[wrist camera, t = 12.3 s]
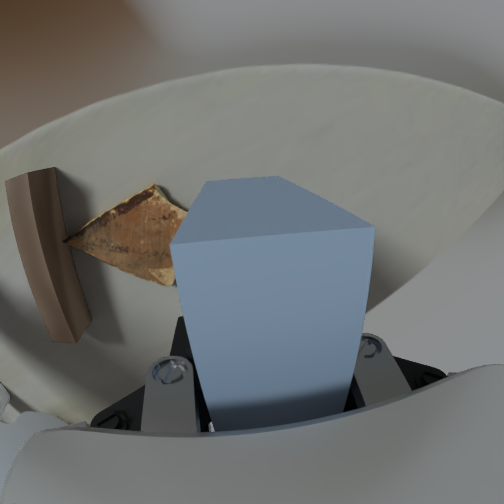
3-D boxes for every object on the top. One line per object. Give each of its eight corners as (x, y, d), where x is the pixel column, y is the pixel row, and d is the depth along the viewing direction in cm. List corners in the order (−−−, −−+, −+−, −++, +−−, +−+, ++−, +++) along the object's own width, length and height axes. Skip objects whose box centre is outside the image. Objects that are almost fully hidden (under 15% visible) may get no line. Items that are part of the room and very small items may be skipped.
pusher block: (229, 366, 15) (239, 496, 7) (206, 181, 11) (169, 244, 4) (282, 360, 15) (317, 485, 7) (278, 175, 11) (375, 227, 4)
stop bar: (70, 319, 24) (53, 341, 20) (32, 174, 18) (4, 181, 14) (92, 319, 24) (76, 343, 20) (54, 166, 18) (27, 172, 15)
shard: (69, 236, 21) (59, 243, 19) (90, 155, 19) (79, 156, 17) (174, 283, 23) (170, 293, 22) (207, 202, 21) (205, 207, 19)
